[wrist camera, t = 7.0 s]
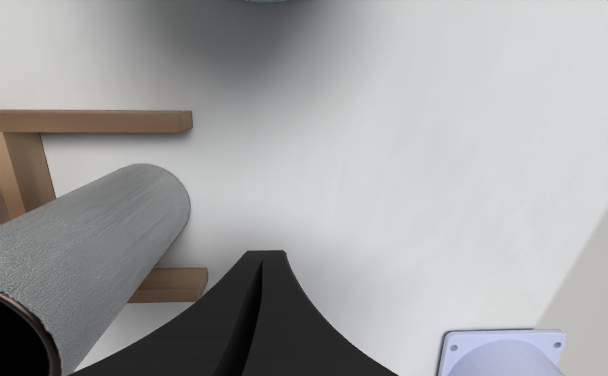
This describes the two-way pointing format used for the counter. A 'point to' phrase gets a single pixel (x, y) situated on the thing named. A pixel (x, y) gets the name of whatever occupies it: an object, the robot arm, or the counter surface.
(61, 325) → the brushed metal tube
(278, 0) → the teal tapered cup
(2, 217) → the squat pot
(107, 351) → the counter surface
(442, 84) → the counter surface
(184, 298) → the walnut caddy
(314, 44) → the counter surface
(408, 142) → the counter surface
